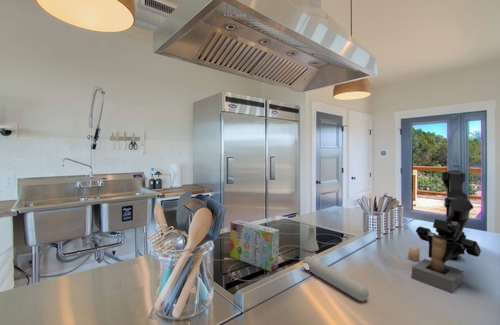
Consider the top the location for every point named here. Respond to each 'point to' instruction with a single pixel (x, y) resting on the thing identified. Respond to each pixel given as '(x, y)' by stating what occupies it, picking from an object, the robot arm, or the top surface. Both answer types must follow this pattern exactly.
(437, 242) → the tall pin
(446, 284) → the grey square socket block
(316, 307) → the top surface
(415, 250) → the short pin
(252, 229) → the snack box
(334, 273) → the tube
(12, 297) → the top surface
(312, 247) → the flask
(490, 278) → the top surface
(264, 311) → the top surface
